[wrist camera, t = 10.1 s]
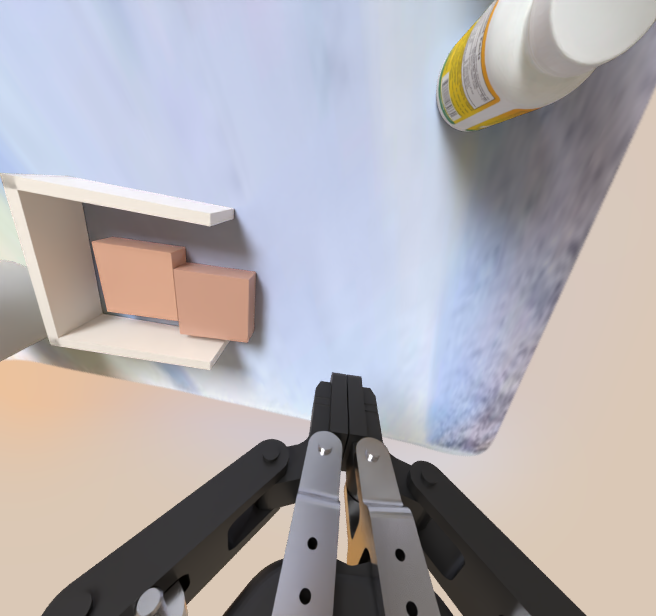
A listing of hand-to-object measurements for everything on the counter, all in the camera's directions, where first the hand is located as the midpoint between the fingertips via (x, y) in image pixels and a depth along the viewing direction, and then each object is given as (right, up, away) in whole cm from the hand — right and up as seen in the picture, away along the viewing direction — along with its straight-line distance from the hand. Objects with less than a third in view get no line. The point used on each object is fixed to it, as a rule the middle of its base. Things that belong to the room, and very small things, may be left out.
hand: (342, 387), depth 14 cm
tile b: (-10, +5, +11) cm, 16 cm away
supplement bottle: (+9, +19, +4) cm, 21 cm away
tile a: (-16, +7, +10) cm, 21 cm away
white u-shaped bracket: (-16, +7, +10) cm, 20 cm away
